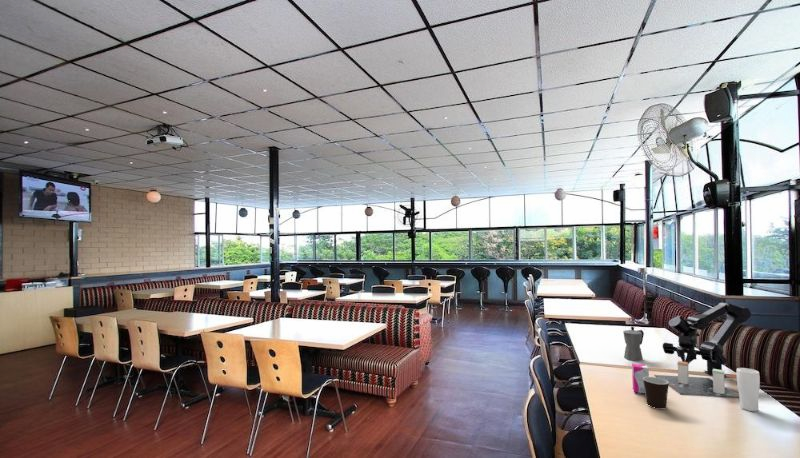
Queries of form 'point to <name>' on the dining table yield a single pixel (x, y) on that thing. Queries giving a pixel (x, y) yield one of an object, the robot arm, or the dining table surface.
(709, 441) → the dining table surface
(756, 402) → the white rounded cylinder
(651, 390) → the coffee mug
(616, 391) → the dining table surface
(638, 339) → the coffeepot
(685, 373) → the terracotta slider
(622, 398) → the dining table surface
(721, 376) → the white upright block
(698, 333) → the robot arm
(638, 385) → the supplement box
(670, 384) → the switch panel
